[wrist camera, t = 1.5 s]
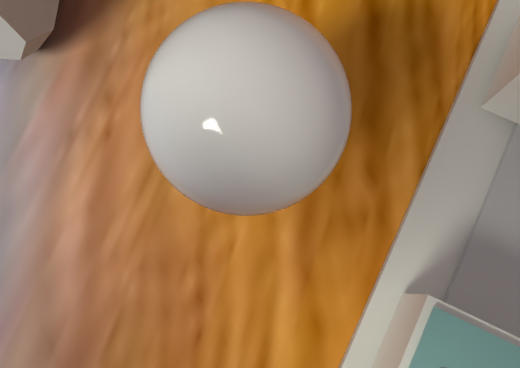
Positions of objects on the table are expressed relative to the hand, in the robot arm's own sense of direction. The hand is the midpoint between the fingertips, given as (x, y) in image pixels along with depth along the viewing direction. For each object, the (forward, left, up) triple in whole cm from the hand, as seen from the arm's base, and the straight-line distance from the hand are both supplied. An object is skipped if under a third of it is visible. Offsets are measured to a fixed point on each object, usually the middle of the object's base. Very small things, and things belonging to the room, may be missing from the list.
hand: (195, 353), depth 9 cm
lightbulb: (+6, -2, -13) cm, 14 cm away
